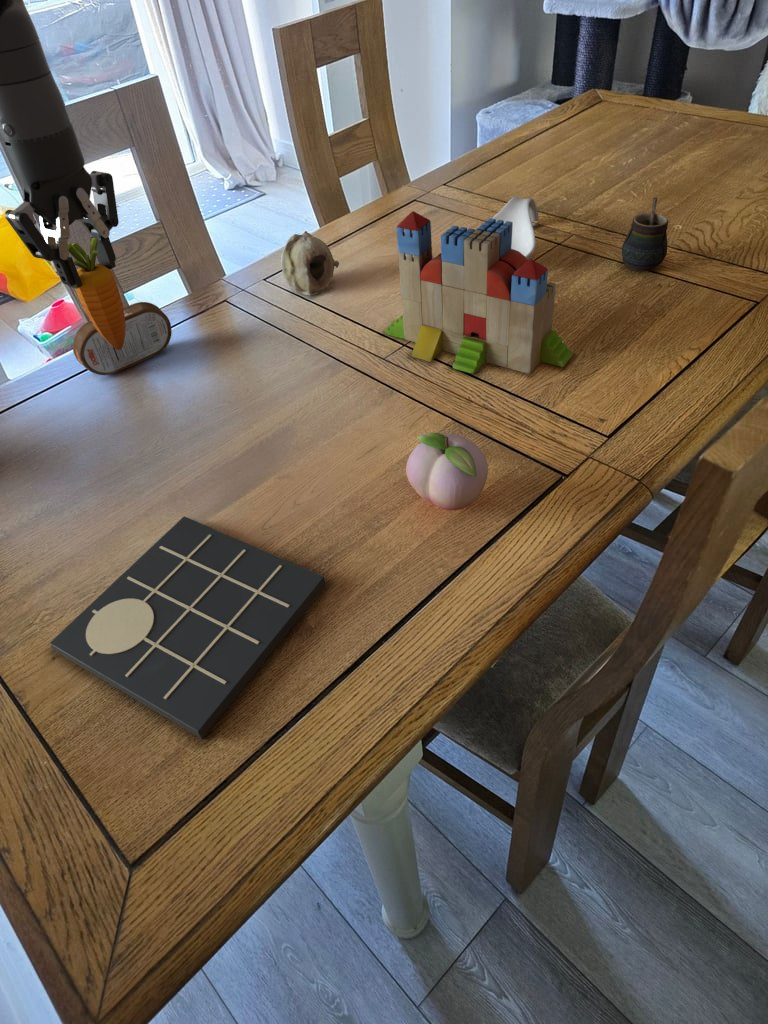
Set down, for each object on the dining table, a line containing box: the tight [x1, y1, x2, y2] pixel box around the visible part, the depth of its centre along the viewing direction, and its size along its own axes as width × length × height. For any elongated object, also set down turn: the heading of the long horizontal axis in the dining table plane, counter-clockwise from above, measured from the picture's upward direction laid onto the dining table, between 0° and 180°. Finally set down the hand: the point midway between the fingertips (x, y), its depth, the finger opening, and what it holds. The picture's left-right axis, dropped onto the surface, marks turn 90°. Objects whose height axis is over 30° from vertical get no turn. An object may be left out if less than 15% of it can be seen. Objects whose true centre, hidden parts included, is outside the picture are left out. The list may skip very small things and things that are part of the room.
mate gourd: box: [621, 197, 669, 273], centre depth 115 cm, size 7×8×10 cm
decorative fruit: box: [405, 431, 489, 511], centre depth 78 cm, size 9×8×10 cm
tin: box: [72, 301, 172, 376], centre depth 106 cm, size 15×3×8 cm, turn 130°
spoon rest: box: [492, 196, 539, 261], centre depth 124 cm, size 24×12×7 cm, turn 158°
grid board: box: [49, 515, 327, 740], centre depth 72 cm, size 20×20×2 cm
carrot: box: [68, 238, 126, 350], centre depth 88 cm, size 5×5×15 cm
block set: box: [384, 210, 574, 375], centre depth 98 cm, size 28×14×19 cm, turn 56°
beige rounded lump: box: [280, 230, 340, 296], centre depth 119 cm, size 9×8×10 cm
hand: (91, 276), depth 86 cm, fingers closed on carrot, 5 cm apart
